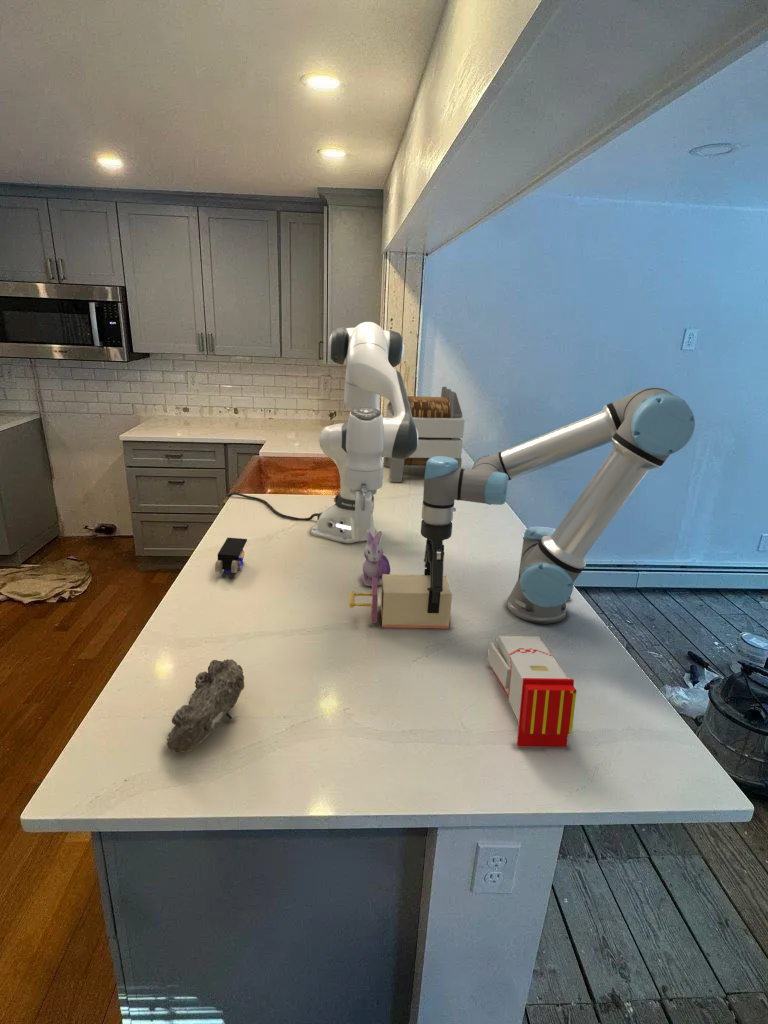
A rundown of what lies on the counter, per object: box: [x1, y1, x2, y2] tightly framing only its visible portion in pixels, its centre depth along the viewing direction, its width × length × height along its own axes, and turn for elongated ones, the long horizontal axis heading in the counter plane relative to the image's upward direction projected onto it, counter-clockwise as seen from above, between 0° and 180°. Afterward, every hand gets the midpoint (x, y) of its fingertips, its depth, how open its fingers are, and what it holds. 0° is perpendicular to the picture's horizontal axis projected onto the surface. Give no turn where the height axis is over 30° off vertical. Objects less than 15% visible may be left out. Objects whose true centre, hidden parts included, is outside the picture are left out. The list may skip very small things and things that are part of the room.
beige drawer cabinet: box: [380, 573, 453, 629], centre depth 145 cm, size 17×10×10 cm, turn 92°
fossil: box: [166, 658, 245, 754], centre depth 106 cm, size 22×10×15 cm
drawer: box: [348, 578, 384, 624], centre depth 144 cm, size 21×9×8 cm, turn 92°
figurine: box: [361, 530, 391, 587], centre depth 162 cm, size 9×10×15 cm
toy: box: [486, 635, 577, 748], centre depth 115 cm, size 12×13×30 cm
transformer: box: [382, 386, 465, 483], centre depth 268 cm, size 34×33×41 cm
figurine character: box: [214, 537, 248, 578], centre depth 166 cm, size 7×8×15 cm
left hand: (362, 532), depth 138 cm, fingers open, 4 cm apart
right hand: (430, 601), depth 145 cm, fingers closed on beige drawer cabinet, 10 cm apart
